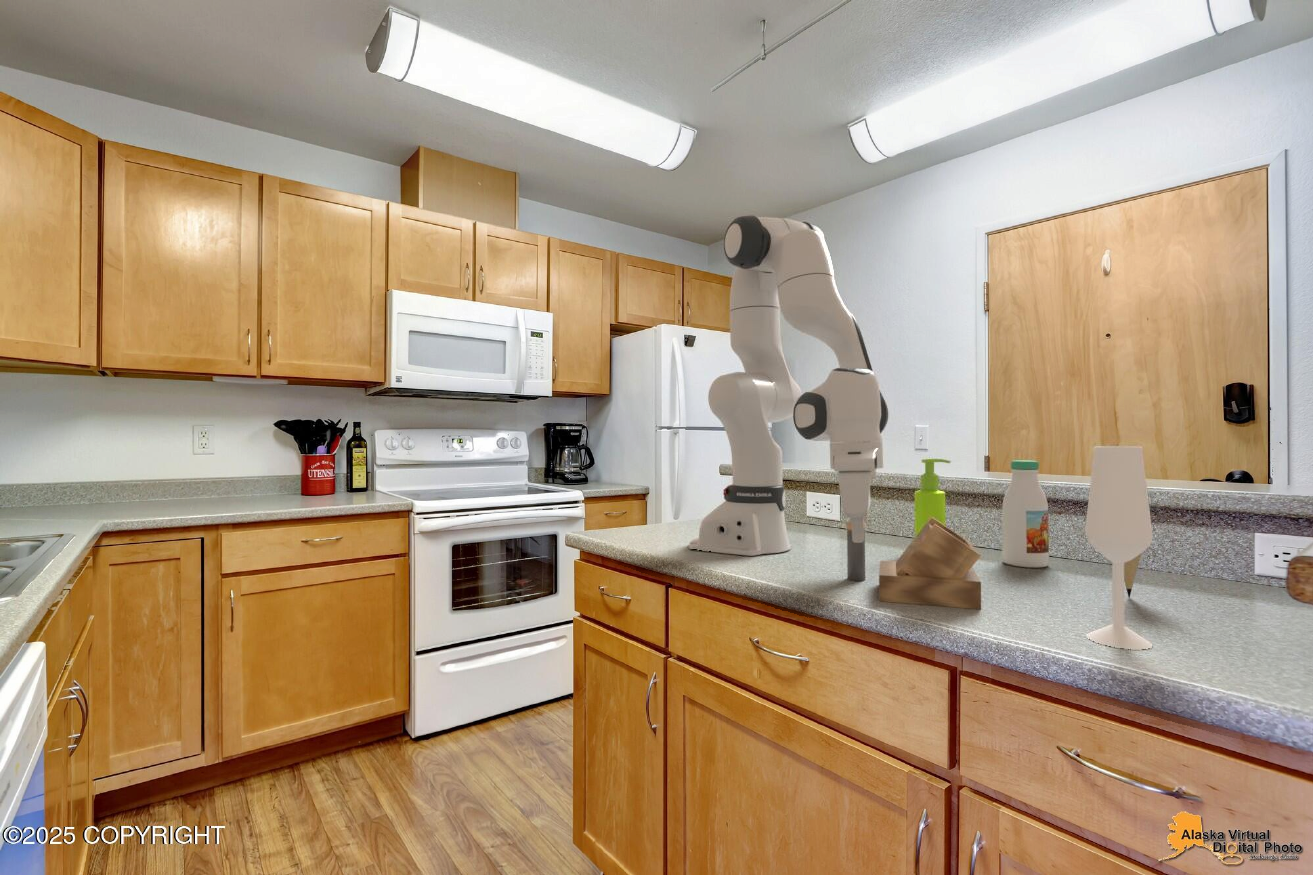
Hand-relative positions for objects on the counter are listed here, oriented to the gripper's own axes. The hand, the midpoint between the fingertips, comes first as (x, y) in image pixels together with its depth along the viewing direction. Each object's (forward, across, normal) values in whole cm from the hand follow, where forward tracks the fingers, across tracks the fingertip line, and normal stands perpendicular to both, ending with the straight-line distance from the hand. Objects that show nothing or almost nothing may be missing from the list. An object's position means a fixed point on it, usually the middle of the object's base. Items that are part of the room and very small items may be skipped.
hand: (859, 537), depth 109 cm
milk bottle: (+8, -23, +29) cm, 38 cm away
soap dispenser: (+8, -28, +13) cm, 32 cm away
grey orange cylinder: (+7, -1, -1) cm, 7 cm away
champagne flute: (+9, +22, +31) cm, 39 cm away
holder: (+8, +7, +10) cm, 15 cm away
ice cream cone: (+9, -1, +39) cm, 40 cm away
